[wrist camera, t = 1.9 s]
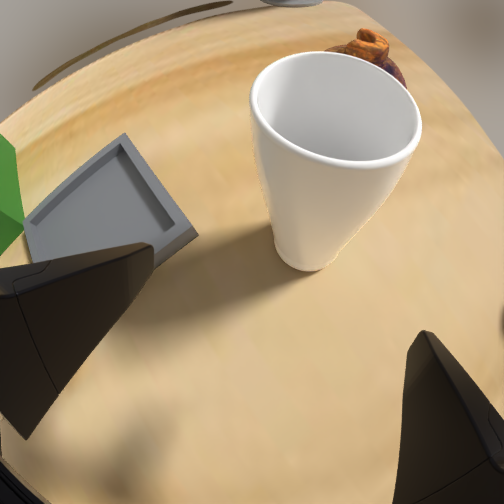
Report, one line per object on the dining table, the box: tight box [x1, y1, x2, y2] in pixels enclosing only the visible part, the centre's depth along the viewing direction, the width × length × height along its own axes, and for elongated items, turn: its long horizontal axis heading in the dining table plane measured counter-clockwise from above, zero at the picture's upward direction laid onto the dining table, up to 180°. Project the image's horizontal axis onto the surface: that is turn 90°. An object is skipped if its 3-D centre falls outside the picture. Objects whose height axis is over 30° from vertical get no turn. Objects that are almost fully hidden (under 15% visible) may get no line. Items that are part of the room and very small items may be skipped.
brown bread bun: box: [324, 28, 407, 89], centre depth 26 cm, size 12×12×7 cm
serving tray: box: [22, 133, 199, 269], centre depth 25 cm, size 15×14×2 cm
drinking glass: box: [249, 51, 422, 271], centre depth 16 cm, size 7×7×15 cm
